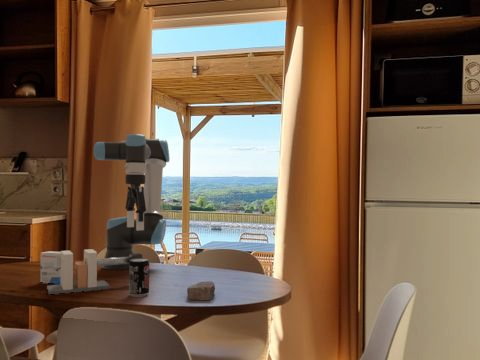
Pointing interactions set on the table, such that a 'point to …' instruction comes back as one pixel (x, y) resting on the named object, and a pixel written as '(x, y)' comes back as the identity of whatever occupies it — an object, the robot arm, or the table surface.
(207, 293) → the stone
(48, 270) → the ink box
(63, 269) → the jig
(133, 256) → the shaft
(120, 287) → the table surface
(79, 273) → the spacer
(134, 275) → the beverage can
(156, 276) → the table surface
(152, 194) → the robot arm
